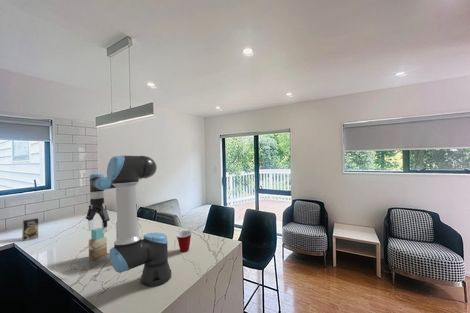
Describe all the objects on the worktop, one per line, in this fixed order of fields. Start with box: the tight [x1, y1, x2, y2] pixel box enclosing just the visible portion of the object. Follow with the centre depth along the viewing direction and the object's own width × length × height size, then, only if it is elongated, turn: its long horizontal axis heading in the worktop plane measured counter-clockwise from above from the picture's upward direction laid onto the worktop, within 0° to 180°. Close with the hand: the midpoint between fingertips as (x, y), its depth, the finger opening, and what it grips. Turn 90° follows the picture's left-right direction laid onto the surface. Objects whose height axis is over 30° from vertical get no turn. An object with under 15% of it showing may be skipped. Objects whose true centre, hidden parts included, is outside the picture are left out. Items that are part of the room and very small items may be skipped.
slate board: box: [72, 252, 111, 270], centre depth 133 cm, size 18×18×2 cm
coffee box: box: [21, 218, 39, 242], centre depth 179 cm, size 9×6×16 cm
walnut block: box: [88, 246, 108, 261], centre depth 135 cm, size 7×7×6 cm
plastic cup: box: [175, 230, 193, 253], centre depth 146 cm, size 11×11×12 cm
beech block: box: [88, 236, 108, 251], centre depth 135 cm, size 7×7×6 cm
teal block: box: [90, 227, 105, 240], centre depth 136 cm, size 5×5×6 cm
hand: (97, 231), depth 135 cm, fingers open, 13 cm apart
